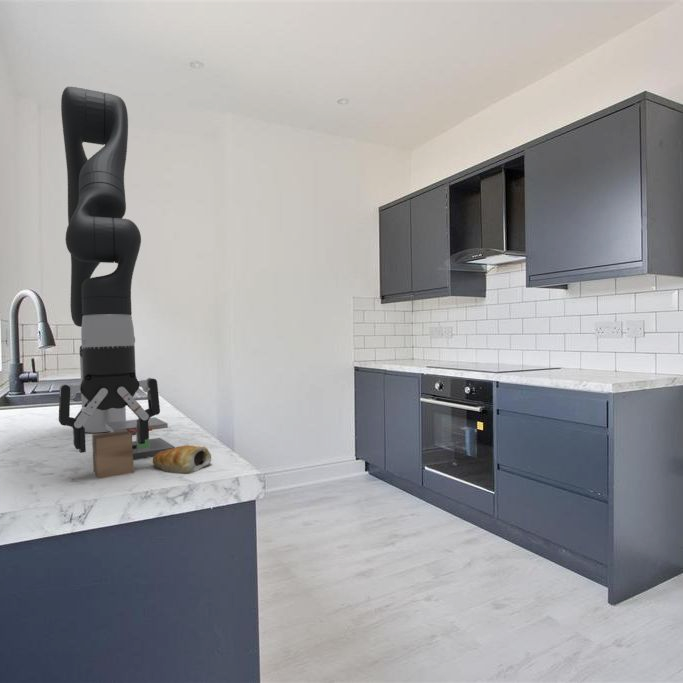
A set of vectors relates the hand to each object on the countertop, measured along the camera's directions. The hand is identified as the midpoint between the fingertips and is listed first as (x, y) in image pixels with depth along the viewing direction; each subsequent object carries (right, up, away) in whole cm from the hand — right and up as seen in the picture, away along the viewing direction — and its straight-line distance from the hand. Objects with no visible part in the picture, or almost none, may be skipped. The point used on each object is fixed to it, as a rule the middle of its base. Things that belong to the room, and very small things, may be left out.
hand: (112, 447), depth 77 cm
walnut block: (0, -4, 0) cm, 4 cm away
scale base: (-2, -4, +14) cm, 14 cm away
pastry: (+10, -4, +2) cm, 11 cm away
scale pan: (-1, 0, +13) cm, 13 cm away
